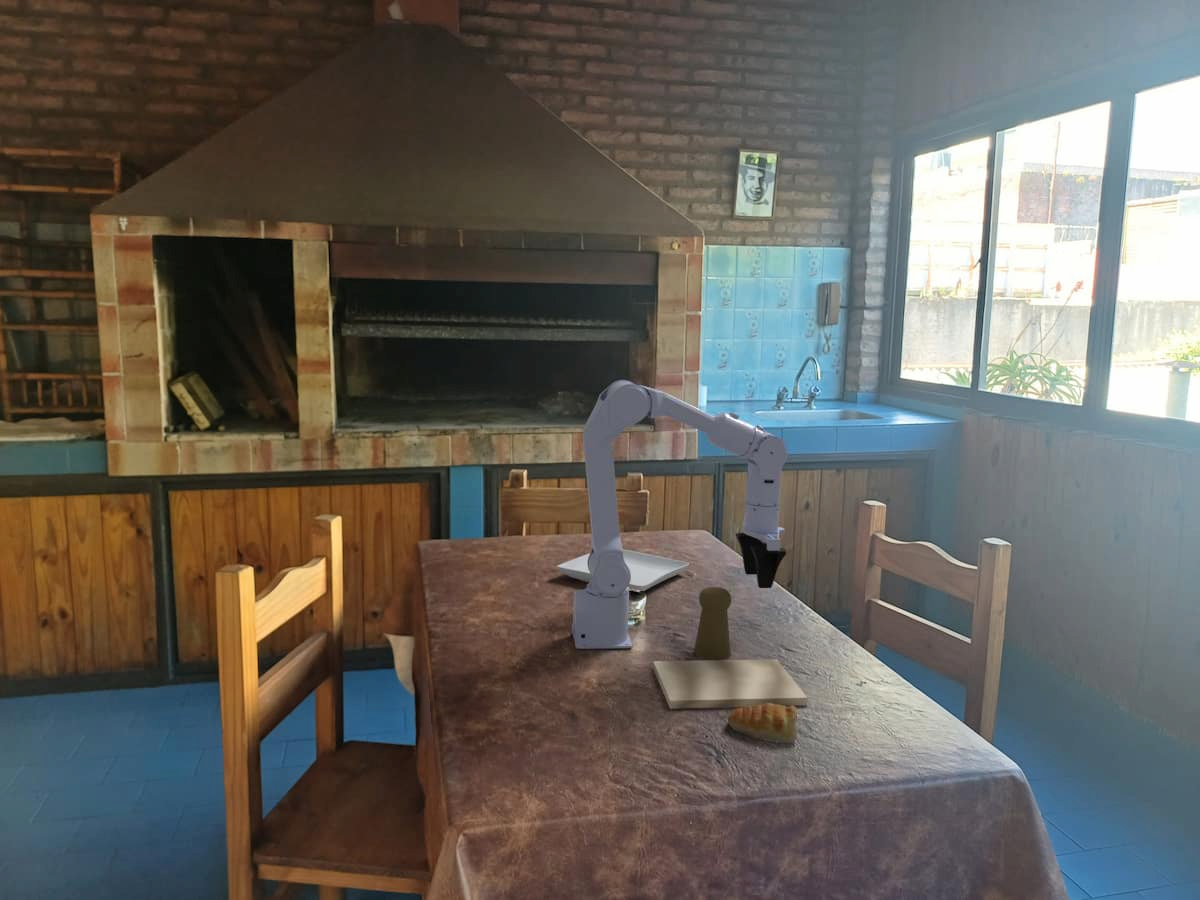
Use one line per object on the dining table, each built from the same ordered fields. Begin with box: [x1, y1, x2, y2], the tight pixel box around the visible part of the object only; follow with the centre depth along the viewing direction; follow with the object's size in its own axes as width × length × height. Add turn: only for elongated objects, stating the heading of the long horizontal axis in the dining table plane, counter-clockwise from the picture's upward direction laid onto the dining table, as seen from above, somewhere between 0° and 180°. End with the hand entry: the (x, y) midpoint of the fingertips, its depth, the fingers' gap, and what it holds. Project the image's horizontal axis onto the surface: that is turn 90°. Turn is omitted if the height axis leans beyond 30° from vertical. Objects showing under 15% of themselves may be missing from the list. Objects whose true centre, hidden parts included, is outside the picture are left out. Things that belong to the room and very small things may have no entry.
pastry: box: [727, 703, 799, 744], centre depth 115 cm, size 9×7×4 cm
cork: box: [693, 586, 732, 660], centre depth 141 cm, size 6×6×11 cm
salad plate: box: [556, 548, 690, 592], centre depth 182 cm, size 21×21×3 cm
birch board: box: [652, 658, 808, 710], centre depth 128 cm, size 20×14×1 cm
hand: (758, 580), depth 147 cm, fingers open, 7 cm apart
